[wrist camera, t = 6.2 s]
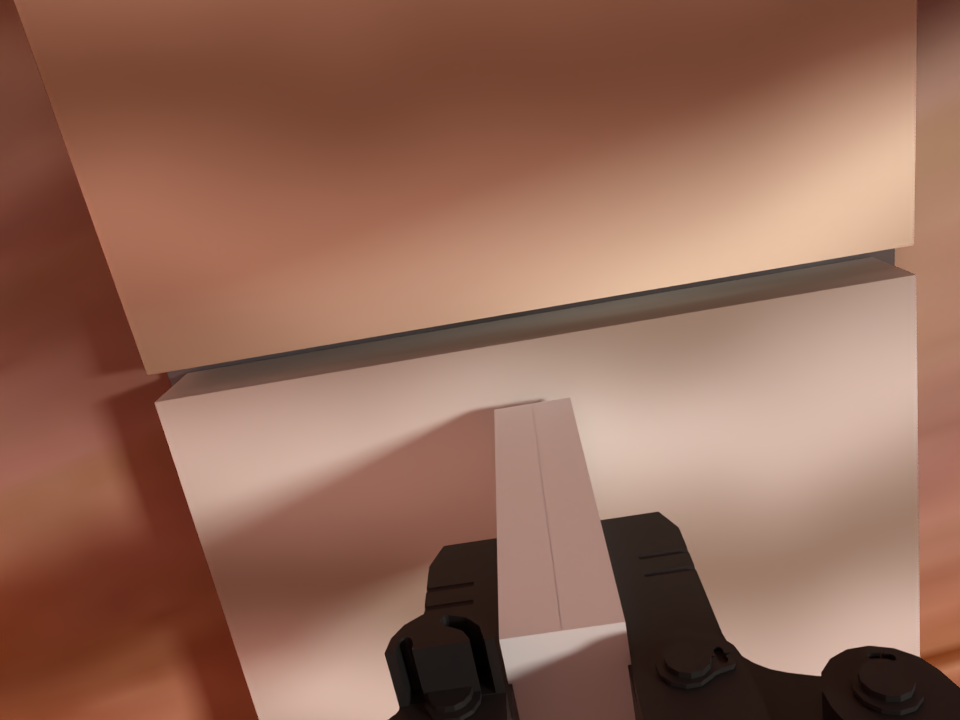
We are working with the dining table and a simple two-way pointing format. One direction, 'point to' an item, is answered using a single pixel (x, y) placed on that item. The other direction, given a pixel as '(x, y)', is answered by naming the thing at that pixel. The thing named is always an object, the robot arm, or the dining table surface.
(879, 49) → the floor board
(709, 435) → the plank
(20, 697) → the dining table surface
